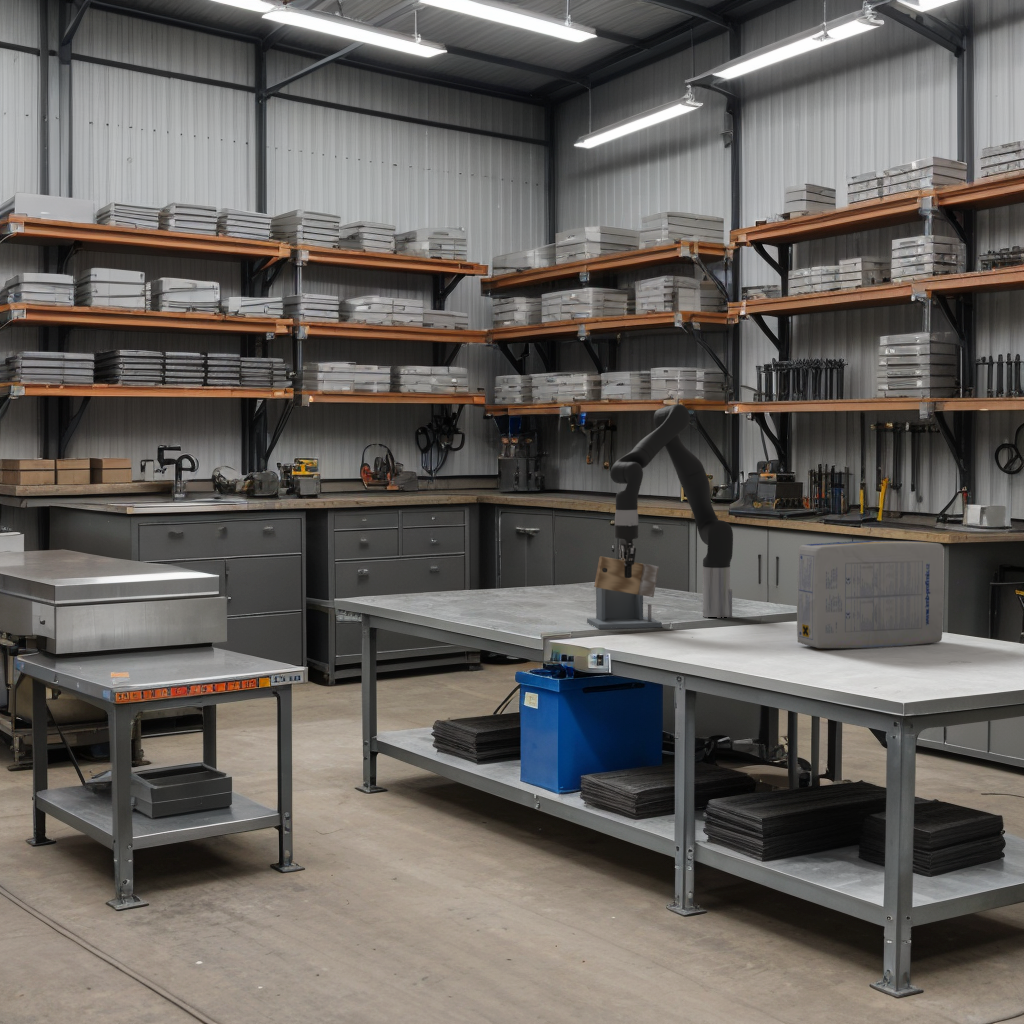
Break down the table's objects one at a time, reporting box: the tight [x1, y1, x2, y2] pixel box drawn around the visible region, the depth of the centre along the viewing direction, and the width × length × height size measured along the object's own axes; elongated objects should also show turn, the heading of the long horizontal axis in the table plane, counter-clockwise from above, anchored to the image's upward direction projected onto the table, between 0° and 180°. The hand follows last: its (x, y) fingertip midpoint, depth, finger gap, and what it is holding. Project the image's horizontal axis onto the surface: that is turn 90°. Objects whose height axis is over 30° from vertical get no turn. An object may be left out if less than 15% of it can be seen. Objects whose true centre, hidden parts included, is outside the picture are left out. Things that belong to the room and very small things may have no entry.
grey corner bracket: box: [586, 587, 663, 630], centre depth 397 cm, size 21×15×12 cm
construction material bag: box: [796, 540, 945, 649], centre depth 351 cm, size 43×12×30 cm, turn 108°
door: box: [594, 555, 660, 598], centre depth 393 cm, size 19×5×10 cm, turn 101°
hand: (626, 576), depth 393 cm, fingers closed on door, 3 cm apart
